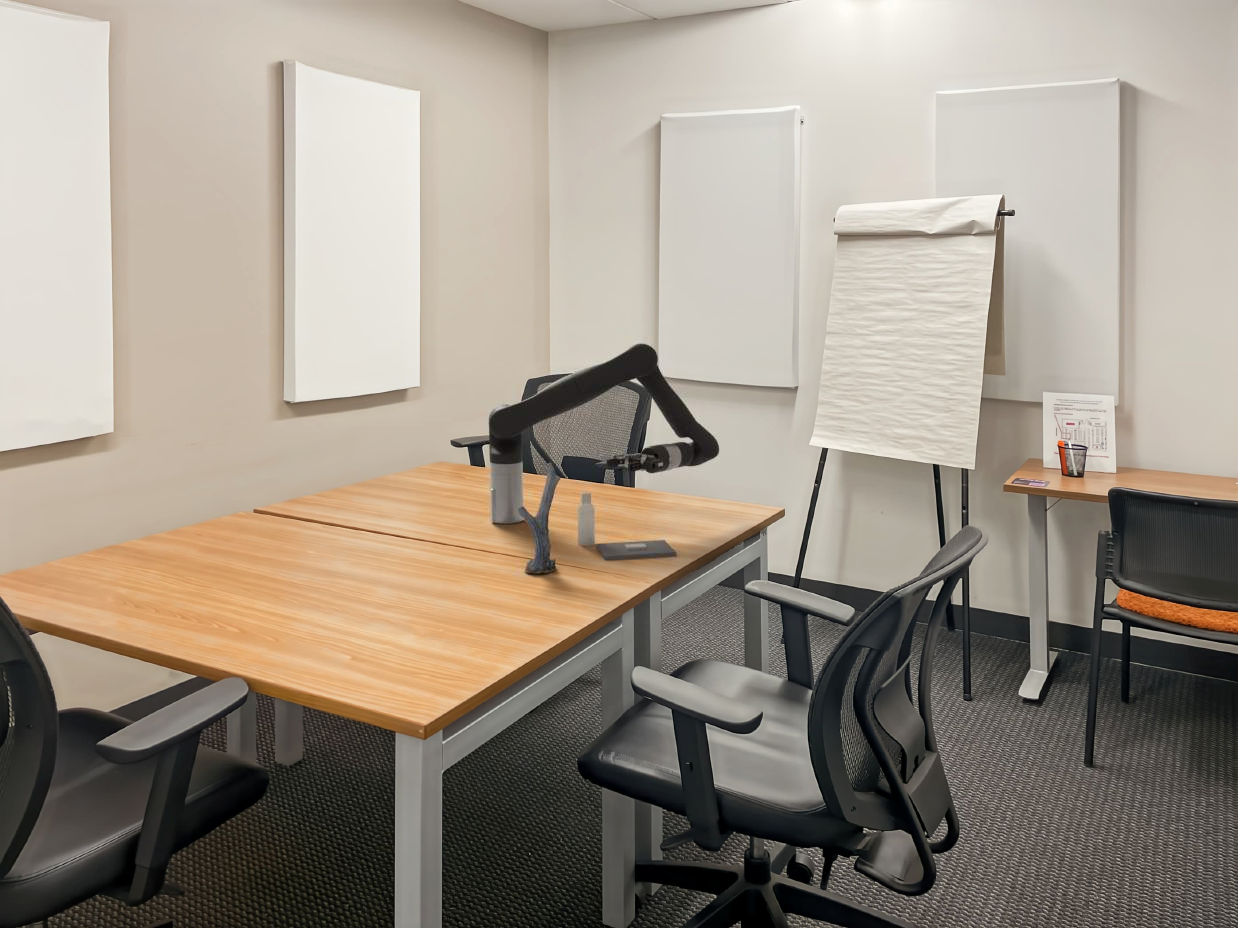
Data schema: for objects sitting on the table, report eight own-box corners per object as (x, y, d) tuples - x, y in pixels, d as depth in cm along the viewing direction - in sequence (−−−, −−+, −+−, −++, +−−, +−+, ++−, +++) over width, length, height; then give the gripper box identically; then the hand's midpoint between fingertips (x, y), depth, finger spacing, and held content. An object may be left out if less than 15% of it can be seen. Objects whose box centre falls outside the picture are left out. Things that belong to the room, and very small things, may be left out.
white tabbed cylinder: (579, 546, 251) (578, 495, 248) (576, 542, 255) (576, 492, 252) (596, 545, 251) (595, 494, 249) (593, 541, 256) (592, 491, 253)
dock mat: (605, 560, 238) (605, 553, 238) (596, 547, 250) (596, 541, 249) (676, 555, 242) (676, 549, 241) (664, 543, 253) (664, 537, 253)
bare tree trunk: (544, 577, 224) (542, 471, 220) (515, 572, 228) (513, 468, 223) (568, 564, 234) (567, 463, 230) (540, 560, 238) (539, 460, 233)
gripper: (643, 441, 272) (599, 448, 261) (679, 447, 262) (636, 455, 251) (643, 467, 274) (600, 476, 263) (679, 474, 263) (636, 483, 252)
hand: (617, 465), depth 257 cm, fingers open, 8 cm apart
